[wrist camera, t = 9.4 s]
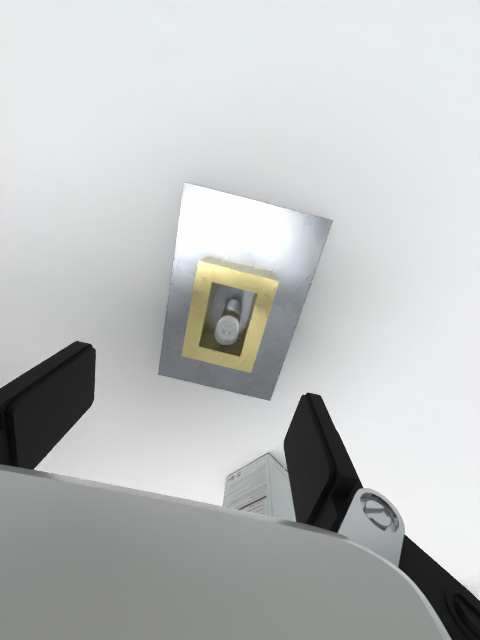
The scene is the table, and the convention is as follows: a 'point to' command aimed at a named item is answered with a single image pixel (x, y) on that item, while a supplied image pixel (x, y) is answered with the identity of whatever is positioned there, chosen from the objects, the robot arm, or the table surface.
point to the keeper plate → (232, 303)
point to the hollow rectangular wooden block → (207, 276)
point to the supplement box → (261, 489)
